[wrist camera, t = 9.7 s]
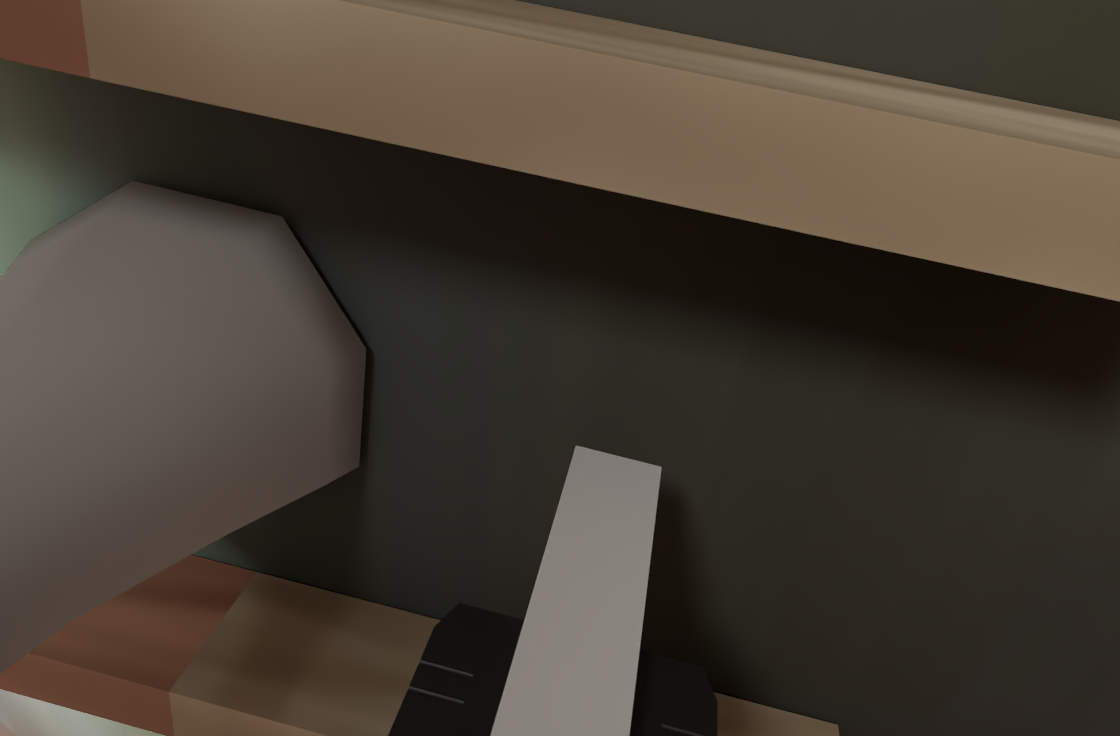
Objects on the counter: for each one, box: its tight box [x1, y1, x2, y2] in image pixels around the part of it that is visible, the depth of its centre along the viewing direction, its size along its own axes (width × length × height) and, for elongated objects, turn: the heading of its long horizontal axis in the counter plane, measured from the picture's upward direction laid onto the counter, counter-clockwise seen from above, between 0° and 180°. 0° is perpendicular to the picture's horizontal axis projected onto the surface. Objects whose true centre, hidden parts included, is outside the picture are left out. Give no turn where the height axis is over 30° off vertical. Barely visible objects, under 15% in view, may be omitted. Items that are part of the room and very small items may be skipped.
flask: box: [0, 181, 366, 674], centre depth 12 cm, size 7×7×10 cm
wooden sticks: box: [0, 0, 1120, 736], centre depth 14 cm, size 15×20×4 cm
